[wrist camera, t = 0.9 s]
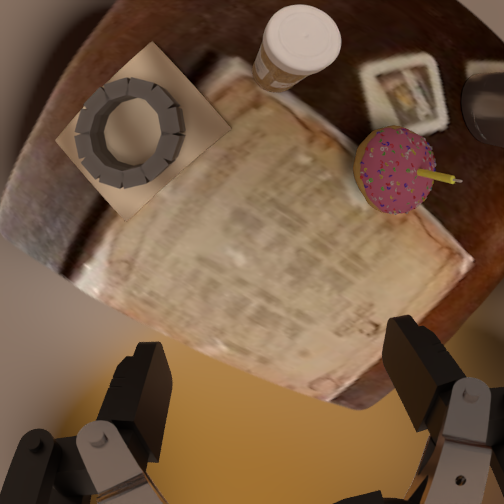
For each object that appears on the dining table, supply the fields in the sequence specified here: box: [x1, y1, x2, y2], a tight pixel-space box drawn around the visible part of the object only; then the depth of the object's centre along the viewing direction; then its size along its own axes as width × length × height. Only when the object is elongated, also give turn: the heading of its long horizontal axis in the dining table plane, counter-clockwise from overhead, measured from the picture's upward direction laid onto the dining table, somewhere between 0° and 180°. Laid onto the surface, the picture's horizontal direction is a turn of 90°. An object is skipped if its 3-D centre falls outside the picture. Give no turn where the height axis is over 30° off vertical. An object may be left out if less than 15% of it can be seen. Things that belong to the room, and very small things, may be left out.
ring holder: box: [55, 41, 231, 222], centre depth 27 cm, size 14×12×5 cm
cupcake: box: [353, 125, 462, 215], centre depth 26 cm, size 9×8×12 cm
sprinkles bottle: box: [252, 5, 341, 92], centre depth 21 cm, size 5×5×13 cm
